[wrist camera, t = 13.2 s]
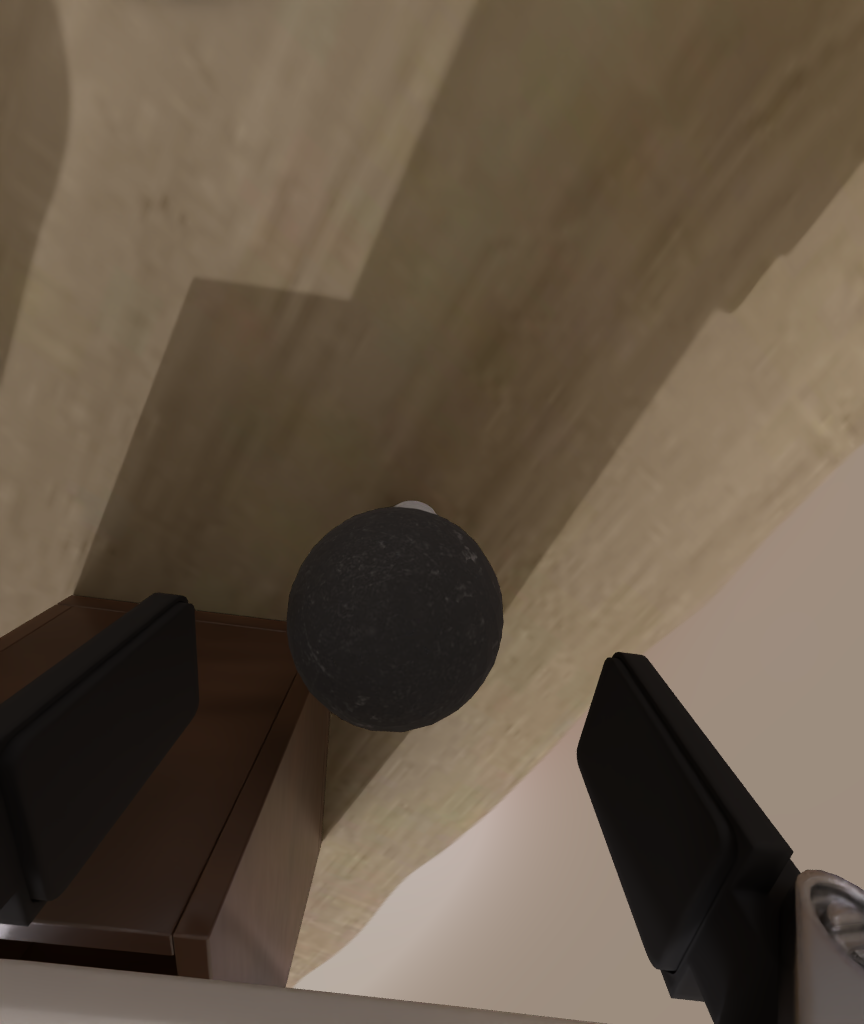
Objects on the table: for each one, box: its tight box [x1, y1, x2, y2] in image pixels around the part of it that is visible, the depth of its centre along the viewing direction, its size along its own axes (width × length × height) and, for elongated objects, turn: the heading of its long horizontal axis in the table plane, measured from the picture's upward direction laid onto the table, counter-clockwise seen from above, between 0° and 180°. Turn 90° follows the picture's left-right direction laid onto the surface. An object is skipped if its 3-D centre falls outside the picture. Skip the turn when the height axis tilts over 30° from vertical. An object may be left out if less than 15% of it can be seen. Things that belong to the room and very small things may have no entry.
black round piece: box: [287, 501, 503, 732], centre depth 13 cm, size 6×6×10 cm
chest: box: [0, 595, 330, 987], centre depth 16 cm, size 16×13×11 cm
